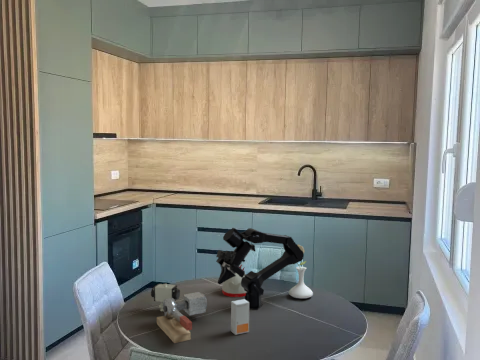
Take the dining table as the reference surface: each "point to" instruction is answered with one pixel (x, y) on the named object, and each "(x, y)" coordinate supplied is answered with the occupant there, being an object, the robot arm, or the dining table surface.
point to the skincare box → (240, 316)
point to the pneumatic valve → (164, 293)
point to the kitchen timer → (234, 287)
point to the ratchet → (177, 312)
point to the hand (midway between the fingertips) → (218, 283)
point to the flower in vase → (301, 283)
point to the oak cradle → (173, 329)
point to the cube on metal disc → (195, 303)
